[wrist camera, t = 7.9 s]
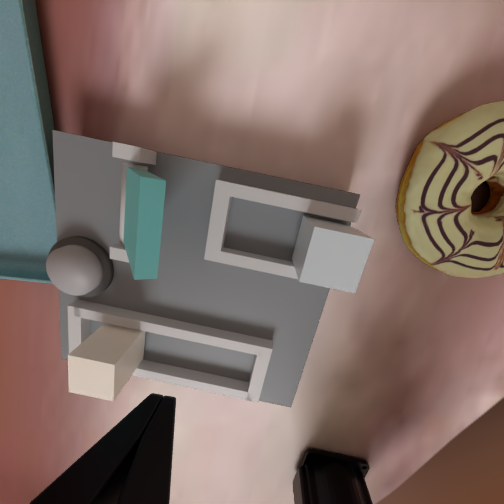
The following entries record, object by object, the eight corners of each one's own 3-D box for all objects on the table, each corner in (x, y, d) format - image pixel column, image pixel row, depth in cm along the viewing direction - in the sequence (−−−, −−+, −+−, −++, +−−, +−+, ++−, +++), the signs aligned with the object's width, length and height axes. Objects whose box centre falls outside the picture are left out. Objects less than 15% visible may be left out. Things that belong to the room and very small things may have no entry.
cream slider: (145, 327, 19) (114, 365, 15) (143, 358, 20) (113, 401, 16) (108, 319, 19) (68, 355, 15) (107, 350, 20) (68, 391, 16)
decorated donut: (551, 94, 15) (639, 66, 12) (532, 252, 18) (598, 269, 15) (382, 131, 17) (415, 116, 13) (389, 274, 19) (418, 295, 16)
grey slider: (348, 225, 16) (374, 239, 12) (334, 267, 16) (355, 293, 13) (303, 215, 16) (314, 226, 12) (291, 258, 16) (299, 281, 13)
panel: (347, 192, 18) (373, 196, 13) (288, 383, 23) (293, 430, 18) (77, 135, 18) (16, 121, 13) (80, 339, 23) (36, 375, 19)
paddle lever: (145, 165, 15) (171, 176, 10) (141, 239, 17) (161, 281, 12) (121, 161, 15) (135, 170, 9) (118, 238, 16) (129, 283, 11)
